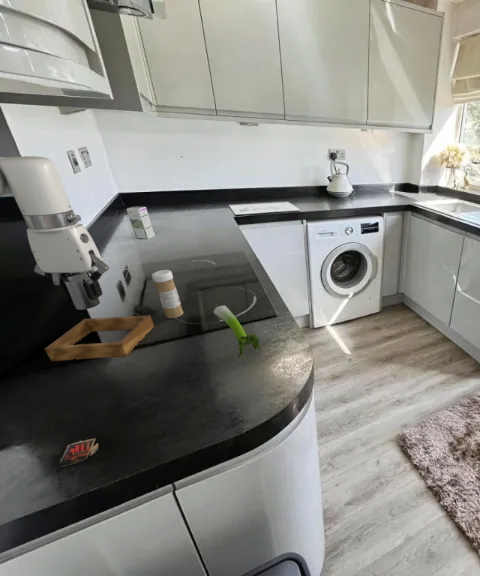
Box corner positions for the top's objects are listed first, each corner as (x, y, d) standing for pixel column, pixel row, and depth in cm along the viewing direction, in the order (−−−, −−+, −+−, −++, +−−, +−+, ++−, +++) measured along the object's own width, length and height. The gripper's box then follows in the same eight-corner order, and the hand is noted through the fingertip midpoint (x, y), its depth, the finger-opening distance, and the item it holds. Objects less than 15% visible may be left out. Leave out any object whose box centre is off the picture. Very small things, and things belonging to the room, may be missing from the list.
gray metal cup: (70, 310, 74) (58, 282, 71) (84, 301, 78) (72, 274, 75) (92, 309, 74) (80, 282, 71) (104, 300, 78) (93, 274, 75)
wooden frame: (51, 361, 74) (44, 348, 73) (89, 329, 86) (84, 318, 84) (126, 356, 76) (121, 344, 75) (154, 326, 88) (150, 315, 86)
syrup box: (155, 235, 160) (146, 206, 154) (148, 239, 155) (138, 208, 148) (143, 235, 160) (134, 206, 154) (135, 239, 155) (125, 208, 148)
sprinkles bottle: (169, 311, 95) (156, 269, 89) (186, 310, 95) (174, 268, 90) (162, 320, 91) (148, 276, 85) (180, 318, 91) (166, 275, 85)
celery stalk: (234, 314, 97) (271, 357, 76) (210, 324, 94) (242, 373, 72) (227, 296, 95) (263, 336, 73) (202, 306, 91) (232, 351, 69)
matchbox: (59, 471, 51) (58, 469, 50) (63, 447, 54) (62, 445, 54) (97, 455, 53) (96, 453, 53) (99, 434, 57) (98, 432, 57)
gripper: (107, 216, 72) (133, 289, 80) (21, 216, 70) (56, 291, 77) (84, 224, 65) (114, 304, 73) (-12, 225, 63) (30, 307, 71)
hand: (84, 297), depth 75 cm, fingers closed on gray metal cup, 4 cm apart
